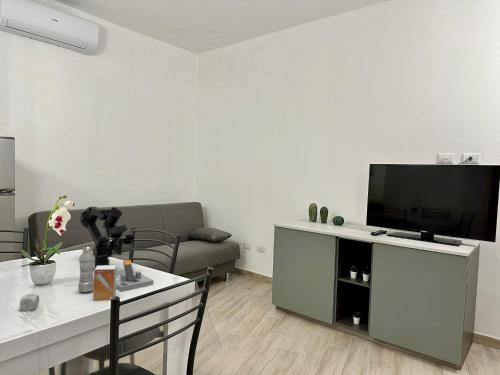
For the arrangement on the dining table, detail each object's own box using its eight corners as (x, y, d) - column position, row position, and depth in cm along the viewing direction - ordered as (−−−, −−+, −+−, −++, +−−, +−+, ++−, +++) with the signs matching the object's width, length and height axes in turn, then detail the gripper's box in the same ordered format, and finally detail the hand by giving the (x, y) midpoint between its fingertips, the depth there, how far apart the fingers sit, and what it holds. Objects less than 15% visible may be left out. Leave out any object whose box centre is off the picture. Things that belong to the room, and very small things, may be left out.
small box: (93, 300, 142) (93, 269, 141) (96, 295, 148) (97, 265, 148) (113, 299, 144) (114, 268, 143) (116, 294, 150) (117, 264, 150)
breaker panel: (107, 283, 163) (107, 273, 163) (139, 277, 175) (139, 267, 174) (120, 291, 153) (121, 280, 153) (153, 284, 165) (153, 273, 165)
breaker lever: (126, 282, 163) (122, 262, 166) (133, 280, 166) (129, 261, 169) (128, 280, 162) (124, 260, 165) (135, 279, 164) (131, 259, 167)
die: (19, 311, 128) (19, 298, 128) (24, 306, 133) (25, 293, 133) (34, 310, 130) (34, 297, 129) (39, 305, 134) (39, 293, 134)
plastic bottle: (90, 288, 157) (92, 244, 156) (96, 292, 152) (97, 247, 151) (75, 291, 152) (76, 246, 151) (81, 295, 147) (82, 248, 146)
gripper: (97, 221, 169) (106, 247, 161) (133, 218, 182) (143, 243, 175) (91, 234, 174) (99, 260, 167) (126, 231, 188) (135, 255, 180)
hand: (120, 254), depth 172 cm, fingers closed
